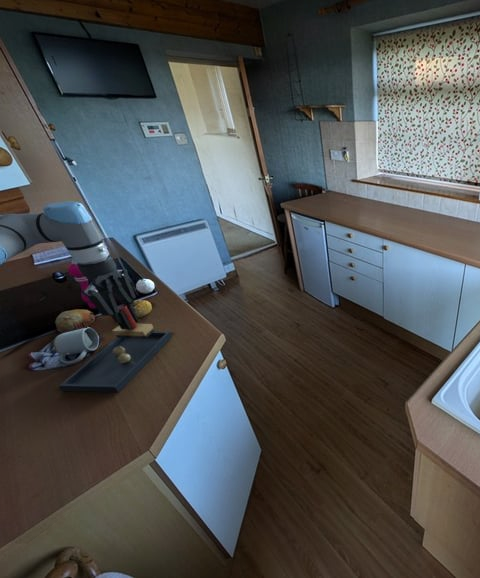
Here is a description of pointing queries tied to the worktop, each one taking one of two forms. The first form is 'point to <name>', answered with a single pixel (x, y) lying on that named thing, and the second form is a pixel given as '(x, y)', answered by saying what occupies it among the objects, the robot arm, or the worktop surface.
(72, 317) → the bread roll
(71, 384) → the tray
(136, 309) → the bagel
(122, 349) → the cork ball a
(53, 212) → the robot arm
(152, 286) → the white ovoid
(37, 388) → the worktop surface
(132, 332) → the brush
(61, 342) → the ceramic mug
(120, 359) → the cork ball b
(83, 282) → the pepper mill
